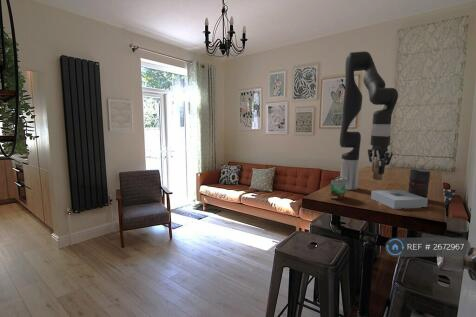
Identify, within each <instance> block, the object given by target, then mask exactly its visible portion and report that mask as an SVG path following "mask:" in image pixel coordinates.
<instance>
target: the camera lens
mask: <svg viewBox="0 0 476 317" xmlns="http://www.w3.org/2000/svg"><path fill="white" fill-rule="evenodd" d="M408 177H409V178H408V179H409V181H408V190H407V192H409V193H412V194H415V195H418V196H421V197H424V198H427V197H428V194H429V184H430V179H431V171H430V170H428V169H424V168H423V169H422V168H410V171H409V176H408Z"/></svg>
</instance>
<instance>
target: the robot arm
mask: <svg viewBox="0 0 476 317" xmlns="http://www.w3.org/2000/svg"><path fill="white" fill-rule="evenodd" d="M344 70H345V74H344V75H345V78H344V79H345V82H344V84H345V85H344V95H343V101H342V102H343V103H342V121H341V126H340V127H341V128H340V133H339V146H340V147H341V148H345V149H346V148H347V149H348V148H349V149H351V148H352V149H351V150H350V151H348V152H344V153H342V154H341V160H340V161H341V163H340V164H341V165H340V175H339V177H344V178H346V180H347V184H346V187H345V190H347V191H348V190H349V191H353V190H354V191H355V190H357V189H358V182H359V163H360V161H359V160H360V151H361V150H360V149H361V141H362V140H361V139H362V137H361V136H362V135H361V133H360V131H348V130H349V127H350V125H351V124H352V122H353V121H354V119H355V118H356V117H357V116H358V115H359V113H360V111H361V109H362V104H363V94H362V92H361V90H360V88H359V87H358V85H357V82H356V79H355V72H361V71H365V74H364V76H363V84H364V86H365V87H366V89H367V90H368V91H367V92H368V96H369V102H370V103H371V104H373V105H375V106H379V105H380V106H383V105H384V106H383V107H382V109H379V110H376V111H374V112H373V114H372V124H371V129H370V130H371V131H370V146H372V147H371V149H367V155H368V156H367V157H368V161H369V163H371V166H372V168H371V170H372V171H371V172H372V173H373V169H374V157H377V159H378V161H379V170H378V174H382V175H384V174H385V169H386V166H389V165H390V163H391V160H392V157H393V154H394V153H393V152H389V148H388V147H389V146H390V145H391V140H392V139H391V137H392V115H393V112H394V109H395V106H396V104H397V102H398V99H399V93H398V90H397V89H396V88H394V87H386V82H385V80H384V79H383V77H382V76H381V75H380V74H379V72H378V70H377V67H376V65H375V62H374V59H373V57H372V55H371V53H370V52H369V51H364V50H363V51H353V52H351V51H350V52H349V53H348V54H347V55H346V58H345V69H344ZM381 158H383V159H381ZM382 160H383V162H382Z"/></svg>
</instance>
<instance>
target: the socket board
mask: <svg viewBox="0 0 476 317" xmlns="http://www.w3.org/2000/svg"><path fill="white" fill-rule="evenodd" d="M370 194H371V195H370V199H371V200H374V201H376V202H377V203H380V204H382V205H385V206H387V207H389V208H391V209H393V210H398V209H399V210H401V209H402V208H404V209H422V208H421V207H427V208H428V202H429V201H428V200H429V199H428V198H427V197H426V198H424V197H421V196H418V195H415V194H412V193H409V192H408V191H405V190H404V189H403V190H402V189H388V190H371V193H370Z"/></svg>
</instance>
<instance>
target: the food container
mask: <svg viewBox="0 0 476 317" xmlns="http://www.w3.org/2000/svg"><path fill="white" fill-rule="evenodd" d="M346 184H347V180H346V178H344V177H340V175H339V176H337V177H336V178H334V179H331V180H330V199H331V200H335V199H340V200H344V199H345V193H346V189H345V187H346Z"/></svg>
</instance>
